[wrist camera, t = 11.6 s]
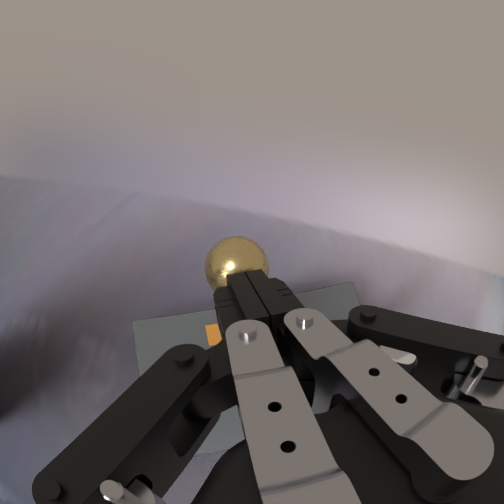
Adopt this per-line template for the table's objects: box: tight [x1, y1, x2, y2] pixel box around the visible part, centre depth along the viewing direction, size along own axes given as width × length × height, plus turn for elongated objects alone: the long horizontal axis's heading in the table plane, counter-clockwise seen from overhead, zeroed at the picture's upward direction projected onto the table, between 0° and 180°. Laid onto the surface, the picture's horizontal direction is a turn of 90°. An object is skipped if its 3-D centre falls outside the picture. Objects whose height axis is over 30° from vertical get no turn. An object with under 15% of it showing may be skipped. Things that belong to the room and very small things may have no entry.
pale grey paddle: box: [380, 345, 416, 364], centre depth 21 cm, size 2×4×10 cm, turn 104°
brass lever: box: [205, 236, 269, 291], centre depth 18 cm, size 3×3×16 cm
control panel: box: [132, 281, 360, 455], centre depth 26 cm, size 14×24×3 cm, turn 104°
